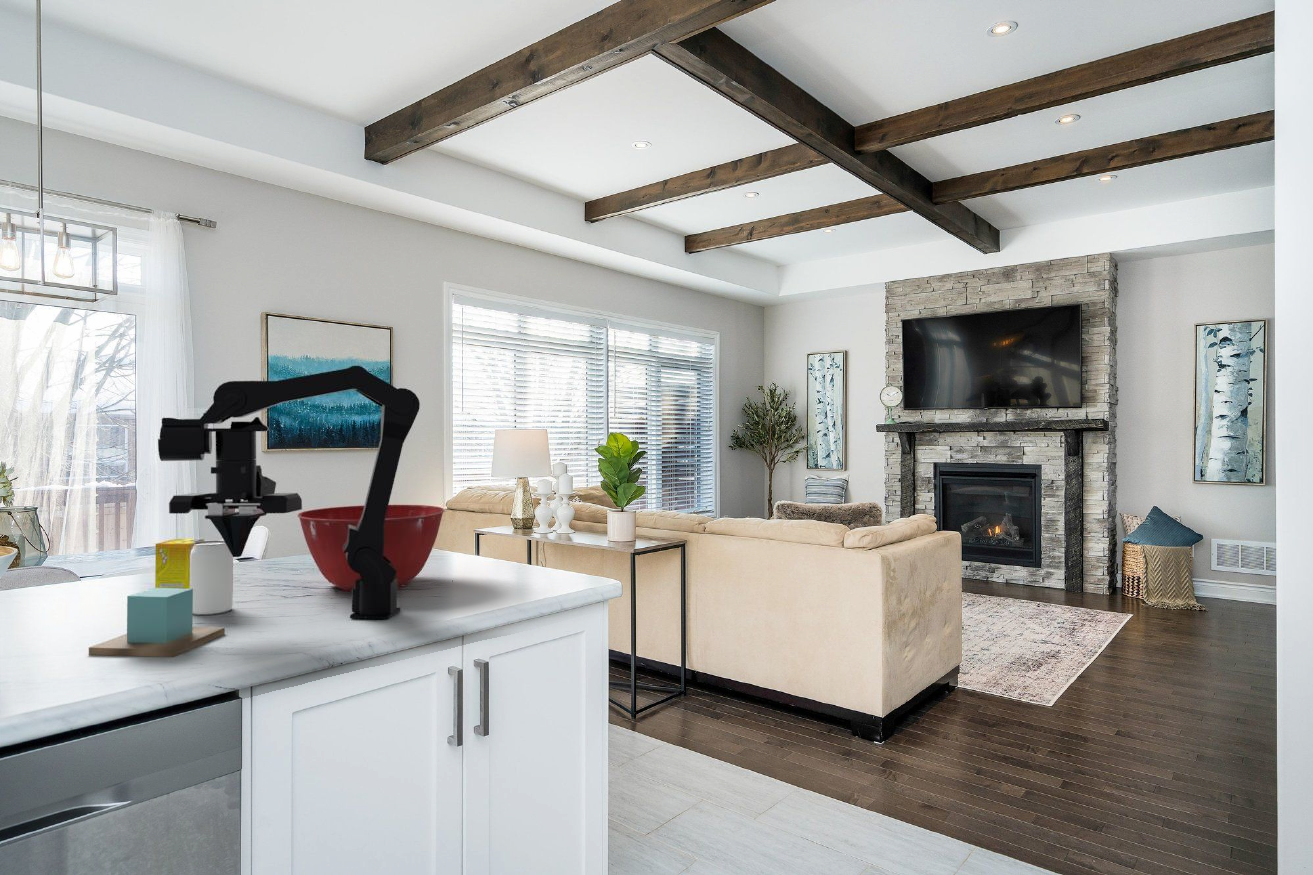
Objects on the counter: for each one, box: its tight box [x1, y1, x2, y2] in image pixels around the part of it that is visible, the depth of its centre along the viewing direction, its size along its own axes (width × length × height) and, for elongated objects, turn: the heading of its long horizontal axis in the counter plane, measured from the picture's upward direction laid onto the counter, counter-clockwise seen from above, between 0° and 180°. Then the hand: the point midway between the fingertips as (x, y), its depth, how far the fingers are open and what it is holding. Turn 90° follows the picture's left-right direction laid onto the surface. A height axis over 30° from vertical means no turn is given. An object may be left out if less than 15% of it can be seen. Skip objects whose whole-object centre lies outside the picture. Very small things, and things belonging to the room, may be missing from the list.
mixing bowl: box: [296, 504, 445, 592], centre depth 156 cm, size 28×28×16 cm
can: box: [190, 539, 234, 616], centre depth 132 cm, size 6×6×12 cm
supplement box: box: [154, 538, 206, 589], centre depth 140 cm, size 6×6×11 cm
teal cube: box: [126, 587, 194, 643], centre depth 111 cm, size 6×6×7 cm
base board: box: [88, 626, 226, 658], centre depth 111 cm, size 12×12×1 cm
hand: (237, 556), depth 122 cm, fingers closed
